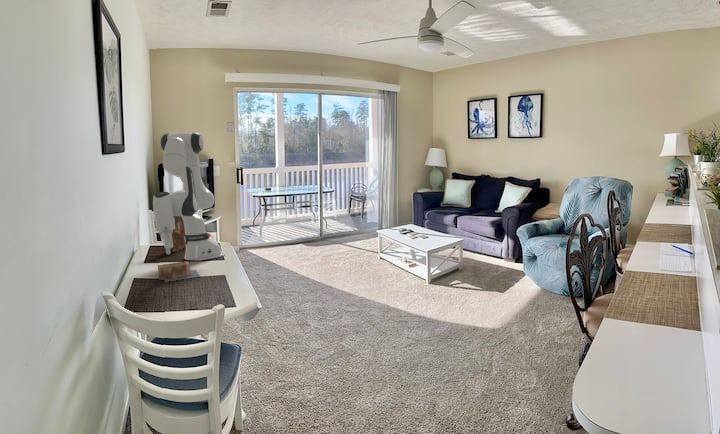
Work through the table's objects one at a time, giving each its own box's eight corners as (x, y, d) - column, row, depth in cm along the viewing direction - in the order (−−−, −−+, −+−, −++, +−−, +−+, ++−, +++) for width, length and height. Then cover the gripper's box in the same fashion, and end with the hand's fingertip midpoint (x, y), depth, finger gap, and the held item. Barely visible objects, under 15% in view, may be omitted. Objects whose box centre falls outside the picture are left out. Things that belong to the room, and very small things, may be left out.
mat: (196, 270, 241) (195, 269, 241) (200, 276, 229) (200, 276, 229) (162, 275, 234) (162, 274, 234) (165, 282, 222) (165, 281, 222)
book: (180, 246, 298) (176, 208, 294) (188, 247, 297) (184, 208, 293) (165, 253, 283) (161, 212, 278) (173, 253, 281) (169, 212, 277)
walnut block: (158, 277, 230) (188, 272, 236) (159, 280, 224) (190, 275, 231) (157, 265, 229) (187, 261, 235) (158, 268, 223) (189, 263, 230)
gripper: (174, 228, 217) (177, 257, 220) (170, 221, 235) (173, 248, 238) (160, 230, 215) (163, 259, 217) (156, 223, 233) (159, 250, 235)
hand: (168, 253), depth 228 cm, fingers closed
